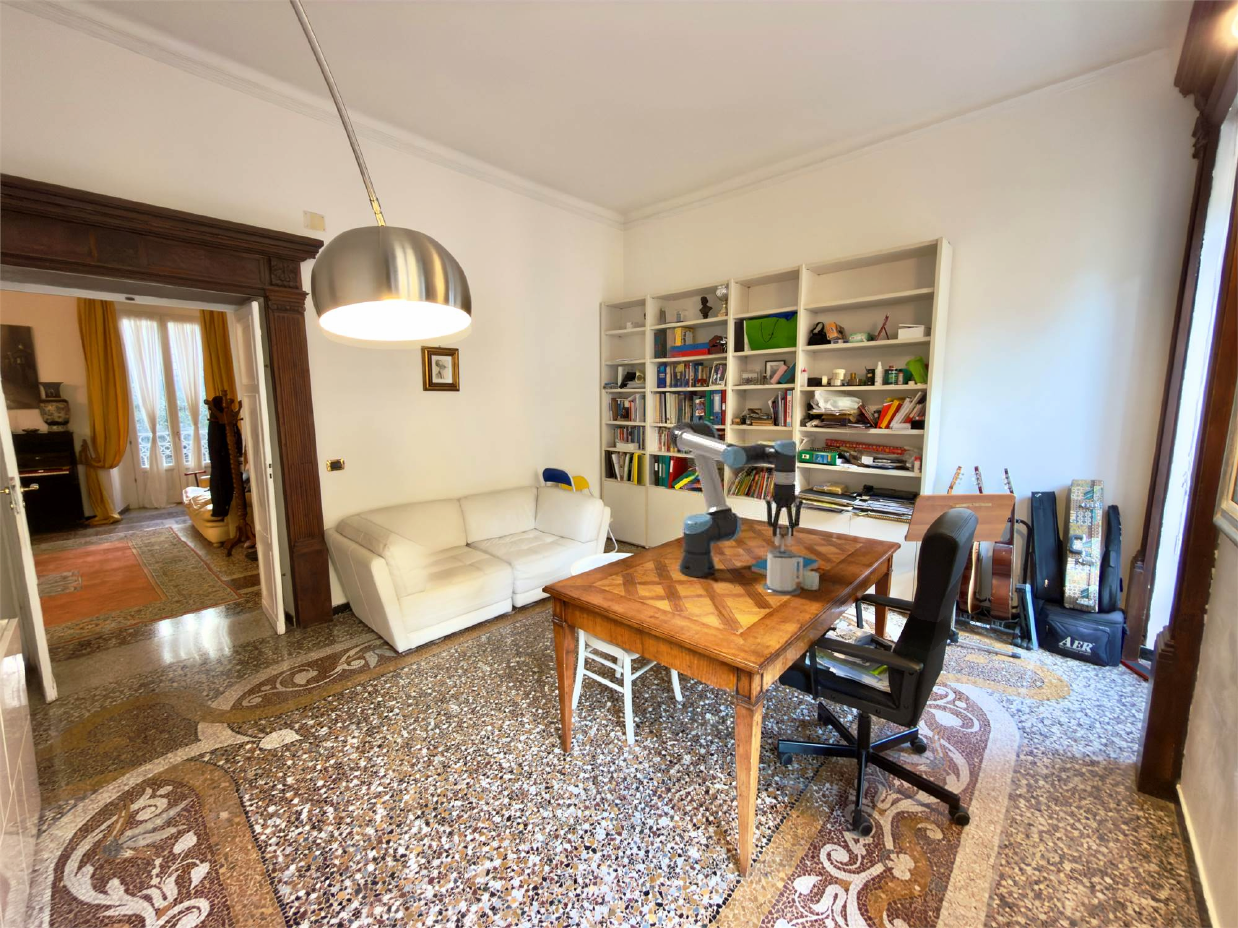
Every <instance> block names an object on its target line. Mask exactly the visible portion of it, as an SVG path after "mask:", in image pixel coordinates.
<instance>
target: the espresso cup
mask: <svg viewBox="0 0 1238 928" xmlns="http://www.w3.org/2000/svg"><path fill="white" fill-rule="evenodd" d="M819 578H820V574H819V573H818V572H817V571H813V570H812V571H811V570H809V571H803V573H802V582H800V584H801V585H800V586H801V588H803V589H805V590H809V591H816V590H819V581H820V579H819Z"/></svg>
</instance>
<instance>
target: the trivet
mask: <svg viewBox="0 0 1238 928" xmlns="http://www.w3.org/2000/svg"><path fill="white" fill-rule="evenodd" d="M761 588H762V590H764V591H765V592H767V593H770V594H773V595H778V596H795V595H799V594H800V593H801V591H802V589H801V588H802V587H800V586H798V585H797V584H796V591H794V592H792V593H777V592H774V591H771V590H769V589H768V588H767V581H765V582H763V583H762V584H761Z"/></svg>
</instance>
